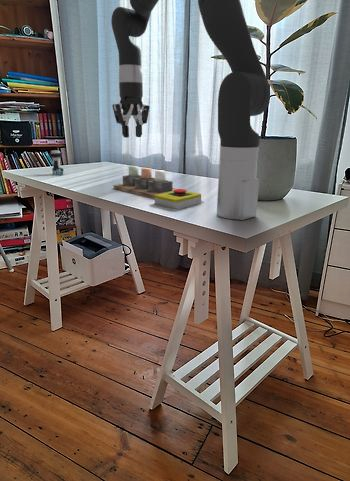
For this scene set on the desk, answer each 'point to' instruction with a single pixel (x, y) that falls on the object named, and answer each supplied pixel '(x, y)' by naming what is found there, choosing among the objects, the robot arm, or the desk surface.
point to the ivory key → (160, 176)
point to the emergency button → (176, 200)
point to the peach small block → (146, 173)
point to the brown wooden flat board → (144, 186)
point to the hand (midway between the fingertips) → (132, 137)
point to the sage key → (133, 171)
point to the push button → (56, 162)
